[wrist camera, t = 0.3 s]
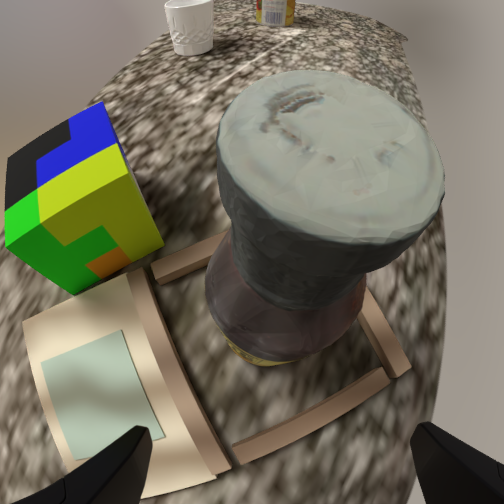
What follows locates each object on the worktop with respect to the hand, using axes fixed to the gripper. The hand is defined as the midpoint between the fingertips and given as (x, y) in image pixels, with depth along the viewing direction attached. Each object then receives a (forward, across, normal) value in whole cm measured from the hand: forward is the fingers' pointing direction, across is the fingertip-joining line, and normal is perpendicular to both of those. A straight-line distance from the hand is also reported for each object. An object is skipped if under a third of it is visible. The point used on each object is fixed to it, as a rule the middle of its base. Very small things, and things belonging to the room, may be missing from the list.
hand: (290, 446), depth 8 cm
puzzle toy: (+20, +16, -3) cm, 26 cm away
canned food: (+52, -1, -45) cm, 69 cm away
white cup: (+42, +13, -32) cm, 55 cm away
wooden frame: (+13, +6, +6) cm, 15 cm away
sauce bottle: (+15, 0, +3) cm, 15 cm away
